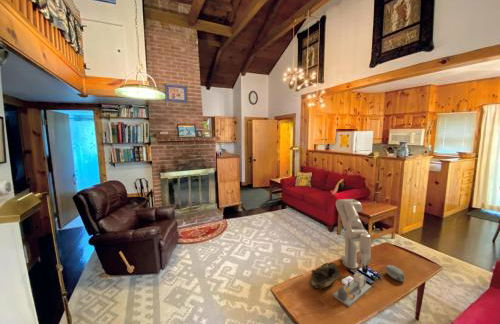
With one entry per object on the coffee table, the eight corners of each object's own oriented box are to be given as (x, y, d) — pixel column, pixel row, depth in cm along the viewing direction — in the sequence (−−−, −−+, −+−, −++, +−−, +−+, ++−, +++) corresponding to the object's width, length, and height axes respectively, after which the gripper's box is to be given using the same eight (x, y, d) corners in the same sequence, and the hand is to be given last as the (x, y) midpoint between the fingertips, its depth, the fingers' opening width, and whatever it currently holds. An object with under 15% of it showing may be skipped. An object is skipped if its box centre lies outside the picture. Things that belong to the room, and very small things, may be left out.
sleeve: (353, 284, 154) (353, 274, 153) (357, 281, 157) (357, 272, 156) (360, 288, 150) (360, 278, 149) (363, 285, 152) (363, 275, 152)
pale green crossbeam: (341, 294, 143) (341, 291, 142) (360, 279, 157) (360, 277, 157) (344, 296, 141) (344, 293, 140) (363, 281, 155) (363, 278, 155)
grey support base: (333, 296, 146) (333, 286, 145) (355, 279, 162) (355, 270, 161) (349, 307, 136) (349, 297, 135) (371, 288, 152) (371, 278, 151)
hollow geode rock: (336, 282, 166) (327, 263, 175) (346, 279, 157) (335, 258, 165) (309, 293, 155) (301, 271, 163) (318, 290, 145) (309, 267, 154)
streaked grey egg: (410, 278, 156) (403, 267, 157) (401, 286, 155) (394, 274, 155) (395, 271, 170) (389, 261, 170) (387, 278, 168) (380, 267, 169)
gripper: (365, 245, 162) (364, 266, 163) (354, 250, 154) (354, 273, 155) (375, 248, 156) (374, 271, 157) (365, 255, 147) (364, 278, 149)
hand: (364, 272), depth 156 cm, fingers closed
